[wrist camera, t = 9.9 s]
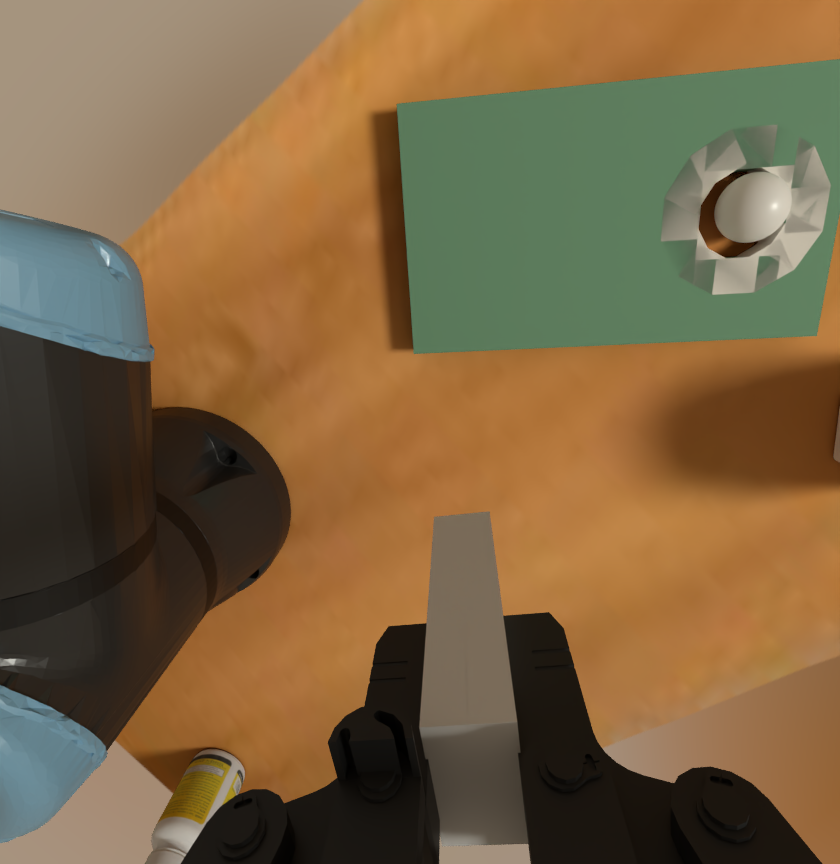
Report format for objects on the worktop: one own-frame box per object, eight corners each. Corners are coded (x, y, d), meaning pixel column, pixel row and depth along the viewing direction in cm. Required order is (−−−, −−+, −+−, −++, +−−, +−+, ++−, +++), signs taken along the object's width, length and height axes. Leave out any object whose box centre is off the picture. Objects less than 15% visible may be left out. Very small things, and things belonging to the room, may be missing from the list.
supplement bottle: (181, 757, 51) (117, 869, 42) (223, 739, 50) (165, 851, 40) (216, 793, 52) (161, 910, 43) (257, 777, 51) (209, 894, 42)
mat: (416, 349, 35) (413, 353, 34) (400, 110, 31) (396, 103, 29) (800, 331, 32) (816, 335, 31) (847, 66, 28) (868, 56, 26)
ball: (752, 240, 27) (805, 236, 28) (756, 164, 26) (811, 162, 27) (698, 248, 31) (747, 244, 31) (700, 181, 30) (751, 179, 31)
